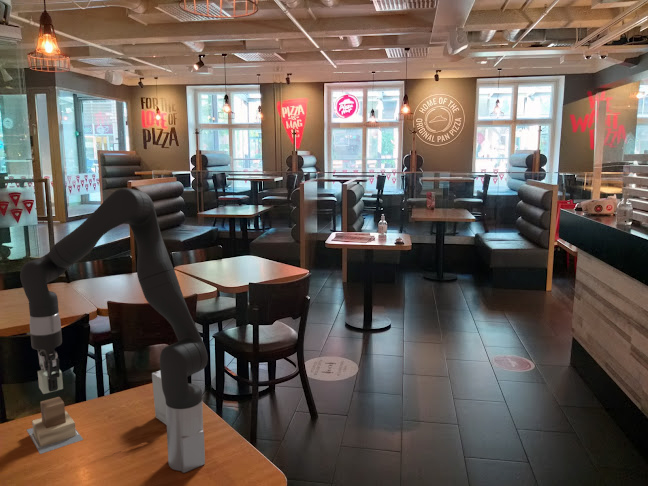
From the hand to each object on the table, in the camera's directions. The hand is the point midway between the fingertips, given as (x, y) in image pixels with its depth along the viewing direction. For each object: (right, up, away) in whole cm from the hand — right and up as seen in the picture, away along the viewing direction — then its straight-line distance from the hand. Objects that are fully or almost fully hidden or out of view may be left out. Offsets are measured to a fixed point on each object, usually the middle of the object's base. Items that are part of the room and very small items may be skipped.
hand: (50, 386), depth 144 cm
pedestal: (0, -14, +2) cm, 15 cm away
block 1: (0, -1, 0) cm, 0 cm away
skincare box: (+29, -14, +14) cm, 35 cm away
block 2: (0, -11, +2) cm, 11 cm away
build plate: (0, -15, +3) cm, 15 cm away
